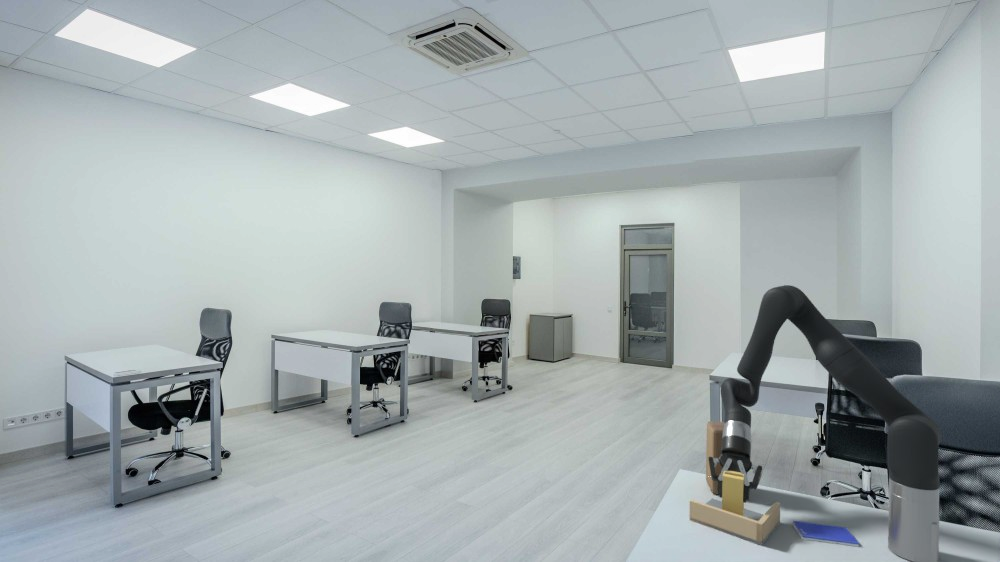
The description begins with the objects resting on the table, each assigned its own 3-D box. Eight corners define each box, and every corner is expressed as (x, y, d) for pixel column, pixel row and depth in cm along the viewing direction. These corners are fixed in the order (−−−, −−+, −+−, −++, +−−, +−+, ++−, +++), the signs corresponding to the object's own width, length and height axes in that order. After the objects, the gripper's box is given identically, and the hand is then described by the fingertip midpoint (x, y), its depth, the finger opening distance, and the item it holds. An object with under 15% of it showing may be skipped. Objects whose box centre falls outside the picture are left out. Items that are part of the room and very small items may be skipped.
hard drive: (802, 535, 124) (858, 542, 121) (792, 519, 132) (844, 526, 129) (802, 541, 124) (858, 549, 121) (791, 525, 132) (844, 532, 129)
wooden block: (747, 498, 147) (748, 432, 146) (712, 495, 149) (712, 429, 149) (738, 484, 156) (739, 422, 156) (705, 481, 158) (706, 420, 158)
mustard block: (743, 509, 133) (744, 472, 133) (742, 517, 129) (743, 479, 129) (723, 505, 135) (724, 468, 135) (721, 513, 131) (722, 475, 131)
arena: (780, 522, 132) (780, 503, 132) (761, 545, 121) (761, 524, 121) (712, 501, 145) (712, 483, 145) (689, 519, 133) (689, 500, 133)
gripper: (708, 430, 142) (702, 487, 131) (764, 438, 135) (763, 499, 124) (710, 442, 146) (704, 498, 136) (764, 451, 140) (763, 511, 129)
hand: (732, 498), depth 130 cm, fingers closed on mustard block, 5 cm apart
